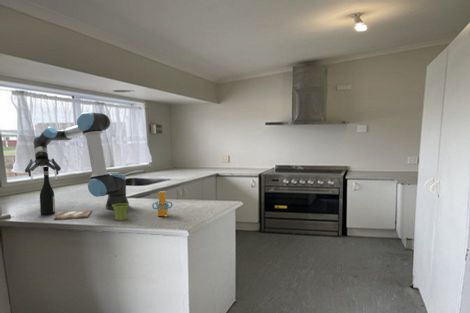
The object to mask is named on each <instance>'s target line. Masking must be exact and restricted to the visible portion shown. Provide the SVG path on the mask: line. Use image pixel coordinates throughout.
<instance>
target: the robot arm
mask: <svg viewBox="0 0 470 313" xmlns="http://www.w3.org/2000/svg"><path fill="white" fill-rule="evenodd" d="M110 126H111V120H110V118H109V116H108V115H107V114H105V113H101V112H90V111H85V112H81V113H80V114H79V116H78V117H77V120H76V125H73V126H71V127H68V128H64V129H56V128H55V127H53V126H48V127H47V126H46V128H45V129H44V130H43V131H42V132H41V133H40V134H39V135H36V136H34V138H33V147H34V157H35V159H30V160H29V163H28V164H27V166H26V167H25V169H24V173H26V174H28V177H29V178H30V181H31V182H33V181H34V180H33V179H34V178H33V177H34V176H33V171H35V169H37V168H38V167H49V169H51V170H52V171H54V177H55V178H54V179H55V180H57V179H58V176H59V171H61V170H62V169H61V166H60V165H59V164H58V163H57V162H56V160H55V159H54V158H51V159H50V158H49V152H48V145H49V144H50V143H51V142H52V141H53V142H54V141H65V142H67V141H72V139H73V138H77V137H80V136H84V137H85V138H86V145H87V149H88V150H87V151H88V156H89V161H90V167H91V175H90V180H89V181H88V184H87V188H88V192H89V194H91V195H92V196H94V197H97V198H99V197H105V196H107V199H106V203H105V209H106V210H110V211H111V210H112V211H114V209H113V206H112V205H114V204H120V203H126V204H129V206H128V208H129V207H130V203H129V201H128V196H127V185H126V184H127V179H126V174H122V173H121V174H120V173H109V172H108V171H107V166H106V161H105V154H104V148H103V143H102V142H103V141H102V136H101V135H102V134H103V131H106V130H108V129H109V128H110Z"/></svg>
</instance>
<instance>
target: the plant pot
mask: <svg viewBox="0 0 470 313" xmlns="http://www.w3.org/2000/svg"><path fill="white" fill-rule="evenodd" d="M112 206H113V209H114V210H113V212H114V213H113V214H114V219H115V221H125V220H127V218H128V217H127V215H128V211H129V210H128V209H129V207H130V203H129V204H126V203H120V204H114V205H112ZM128 206H129V207H128Z"/></svg>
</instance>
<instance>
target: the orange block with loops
mask: <svg viewBox="0 0 470 313" xmlns="http://www.w3.org/2000/svg"><path fill="white" fill-rule="evenodd" d="M166 198H167V197H166V191H165V190H160V191H158V201H155V202H153V203H152V205H151V207H152V208H153V210H157V217H159V216H165V215H167V216H168V215H169V214H168V213H169V212H168V211H169V209H171V208H173V202H172V201H168V200H167V199H166ZM169 204H170V206H169ZM154 205H155V206H156V207H155V206H154ZM165 217H166V216H165Z"/></svg>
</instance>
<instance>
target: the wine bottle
mask: <svg viewBox="0 0 470 313" xmlns="http://www.w3.org/2000/svg"><path fill="white" fill-rule="evenodd" d="M42 169H43V185H42V187H41V190H40V191H39V192H40V193H39V205H40V206H39V208H40V209H39V210H40V211H39V212H40V214H41V215H43V216H49V215H53V214H55V212H56V203H55V202H56V199H55V192H54V189H53V187H52V185H51V183H50V174H49V173H50V172H49V169H50V167H48V166H42Z"/></svg>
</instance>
